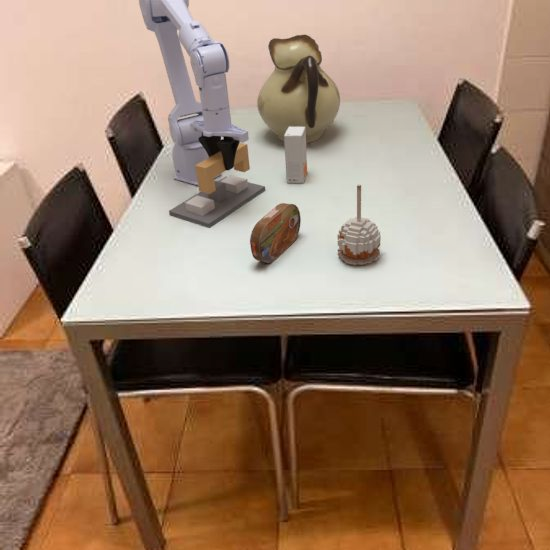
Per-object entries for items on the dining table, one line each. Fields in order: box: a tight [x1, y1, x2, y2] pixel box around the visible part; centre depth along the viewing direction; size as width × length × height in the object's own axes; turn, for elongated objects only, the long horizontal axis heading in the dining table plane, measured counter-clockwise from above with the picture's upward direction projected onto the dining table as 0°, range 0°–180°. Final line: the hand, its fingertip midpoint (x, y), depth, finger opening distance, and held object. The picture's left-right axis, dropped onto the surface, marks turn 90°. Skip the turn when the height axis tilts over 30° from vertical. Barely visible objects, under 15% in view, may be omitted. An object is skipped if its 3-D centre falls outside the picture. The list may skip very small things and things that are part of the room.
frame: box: [195, 142, 251, 194], centre depth 131 cm, size 3×14×6 cm, turn 144°
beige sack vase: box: [256, 34, 341, 144], centre depth 160 cm, size 22×24×25 cm
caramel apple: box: [336, 184, 382, 266], centre depth 110 cm, size 8×8×15 cm
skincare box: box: [283, 127, 308, 184], centre depth 141 cm, size 6×4×12 cm
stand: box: [168, 174, 266, 228], centre depth 136 cm, size 12×20×4 cm, turn 144°
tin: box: [249, 202, 302, 264], centre depth 116 cm, size 15×3×8 cm, turn 148°
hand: (223, 167), depth 131 cm, fingers closed on frame, 3 cm apart
